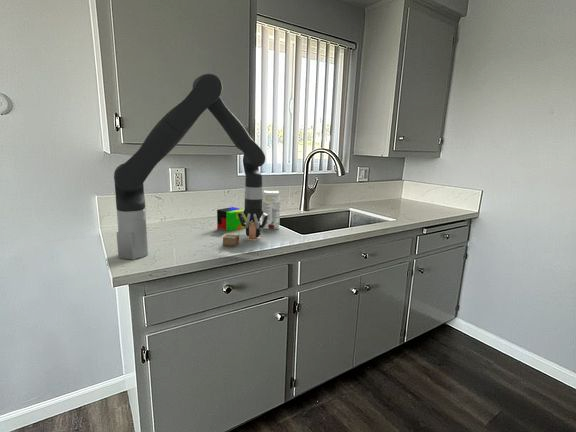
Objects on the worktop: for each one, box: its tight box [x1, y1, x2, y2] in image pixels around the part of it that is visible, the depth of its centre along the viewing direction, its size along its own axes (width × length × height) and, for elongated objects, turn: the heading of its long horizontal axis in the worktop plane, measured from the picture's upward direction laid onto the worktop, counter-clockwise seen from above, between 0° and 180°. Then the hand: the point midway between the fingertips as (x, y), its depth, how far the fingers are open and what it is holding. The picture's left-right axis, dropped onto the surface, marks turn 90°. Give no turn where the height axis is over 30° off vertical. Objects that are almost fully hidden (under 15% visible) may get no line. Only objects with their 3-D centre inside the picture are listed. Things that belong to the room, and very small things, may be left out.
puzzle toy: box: [216, 206, 247, 232], centre depth 158 cm, size 10×10×10 cm
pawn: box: [248, 221, 257, 239], centre depth 141 cm, size 4×4×8 cm
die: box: [222, 233, 240, 248], centre depth 131 cm, size 5×5×5 cm
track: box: [209, 231, 262, 242], centre depth 144 cm, size 7×22×1 cm, turn 78°
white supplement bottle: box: [261, 190, 281, 230], centre depth 160 cm, size 8×9×19 cm
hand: (253, 236), depth 142 cm, fingers closed on pawn, 3 cm apart
